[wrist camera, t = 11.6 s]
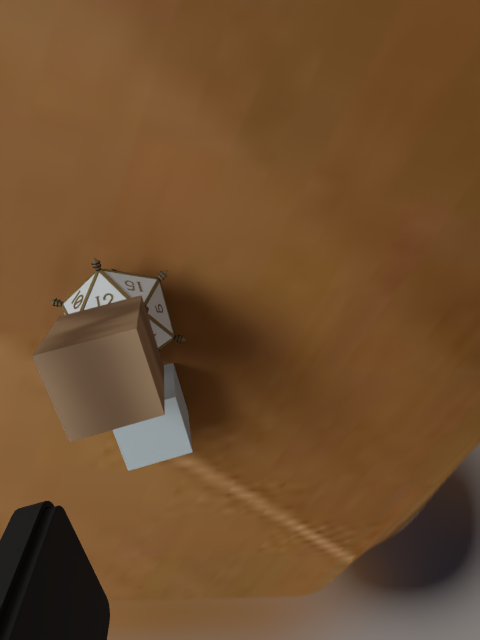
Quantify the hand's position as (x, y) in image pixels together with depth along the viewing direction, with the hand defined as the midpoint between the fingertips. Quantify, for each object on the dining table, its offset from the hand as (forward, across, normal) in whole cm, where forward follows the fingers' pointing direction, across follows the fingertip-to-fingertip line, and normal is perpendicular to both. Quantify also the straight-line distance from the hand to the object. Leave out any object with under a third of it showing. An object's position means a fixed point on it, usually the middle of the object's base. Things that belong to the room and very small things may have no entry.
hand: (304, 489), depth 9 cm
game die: (+27, +8, +3) cm, 28 cm away
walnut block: (+19, +7, +3) cm, 21 cm away
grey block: (+27, +8, +11) cm, 30 cm away
